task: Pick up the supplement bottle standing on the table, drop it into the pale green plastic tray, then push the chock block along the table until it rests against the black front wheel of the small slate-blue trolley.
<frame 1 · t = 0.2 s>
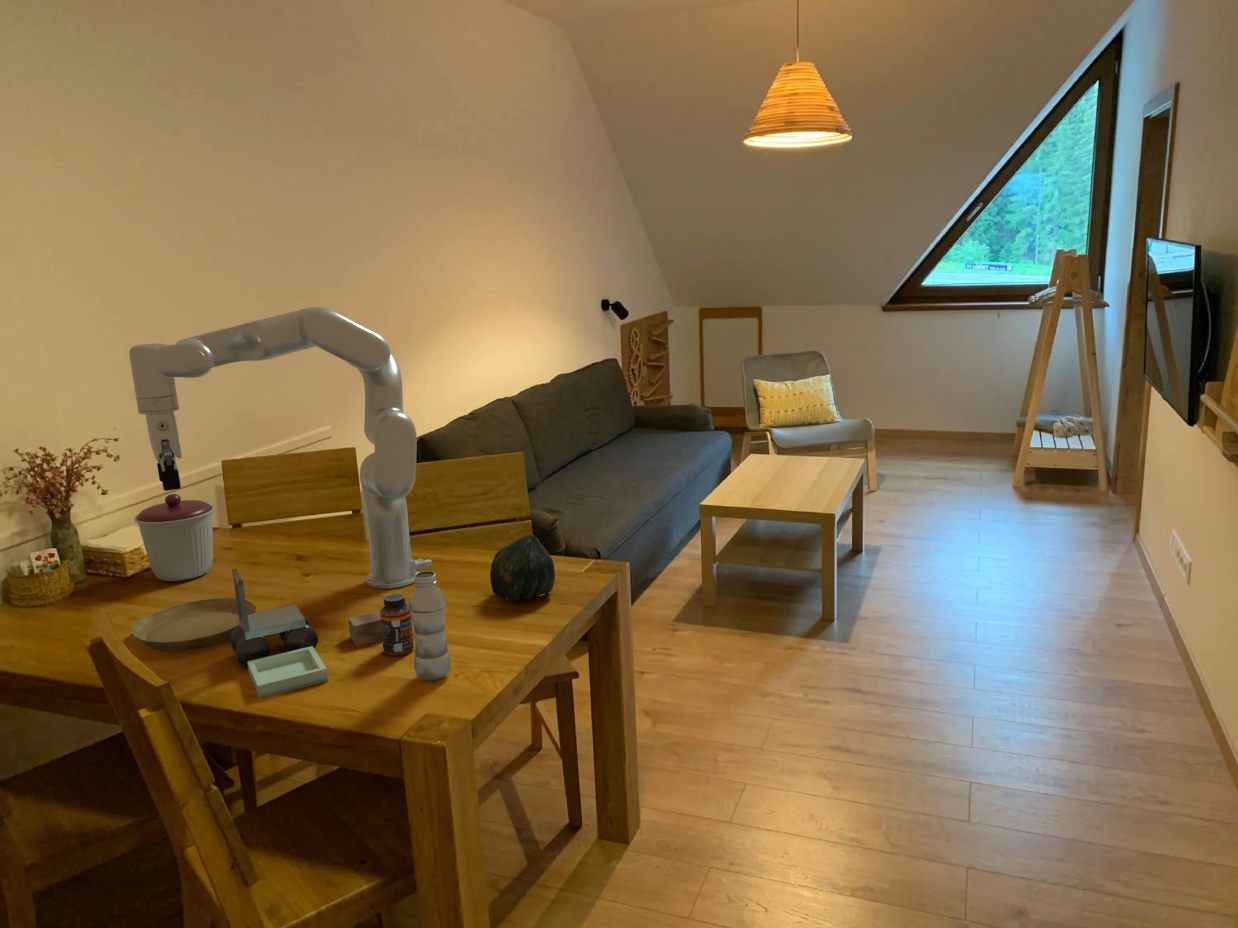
hand: (170, 484, 189), 31 cm above the table, tool pointing down, fingers open, 9 cm apart
chock: (370, 638, 184), on the table
tray: (287, 677, 168), on the table
trolley: (275, 653, 178), on the table
plastic bottle: (433, 677, 166), on the table
canister: (184, 575, 227), on the table
plant saucer: (198, 633, 191), on the table
squash: (524, 596, 205), on the table
supplement bottle: (399, 651, 178), on the table
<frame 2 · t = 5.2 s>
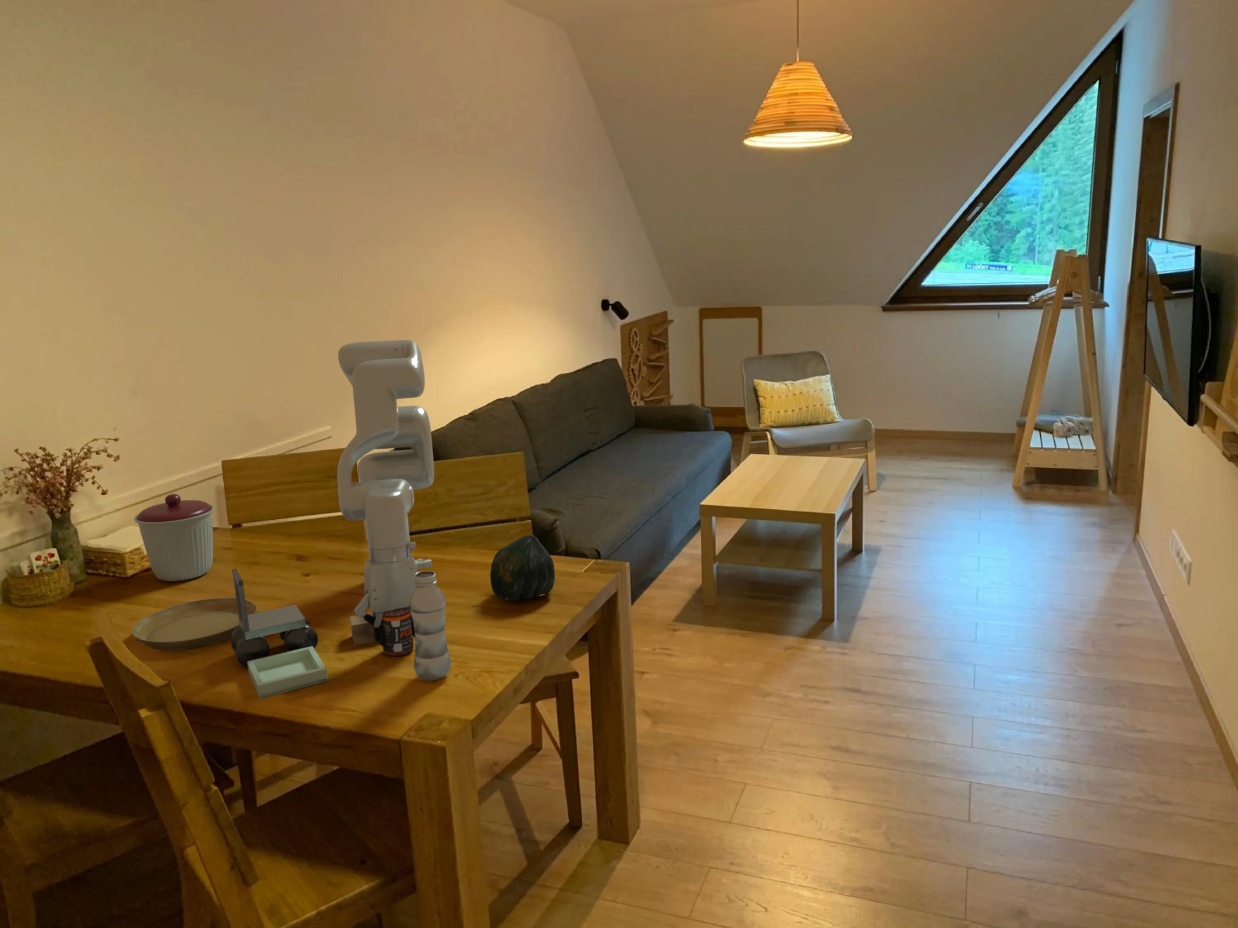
hand: (397, 638, 177), 3 cm above the table, tool pointing down, fingers closed on supplement bottle, 6 cm apart
supplement bottle: (398, 651, 177), on the table, touching gripper
everything else where it was.
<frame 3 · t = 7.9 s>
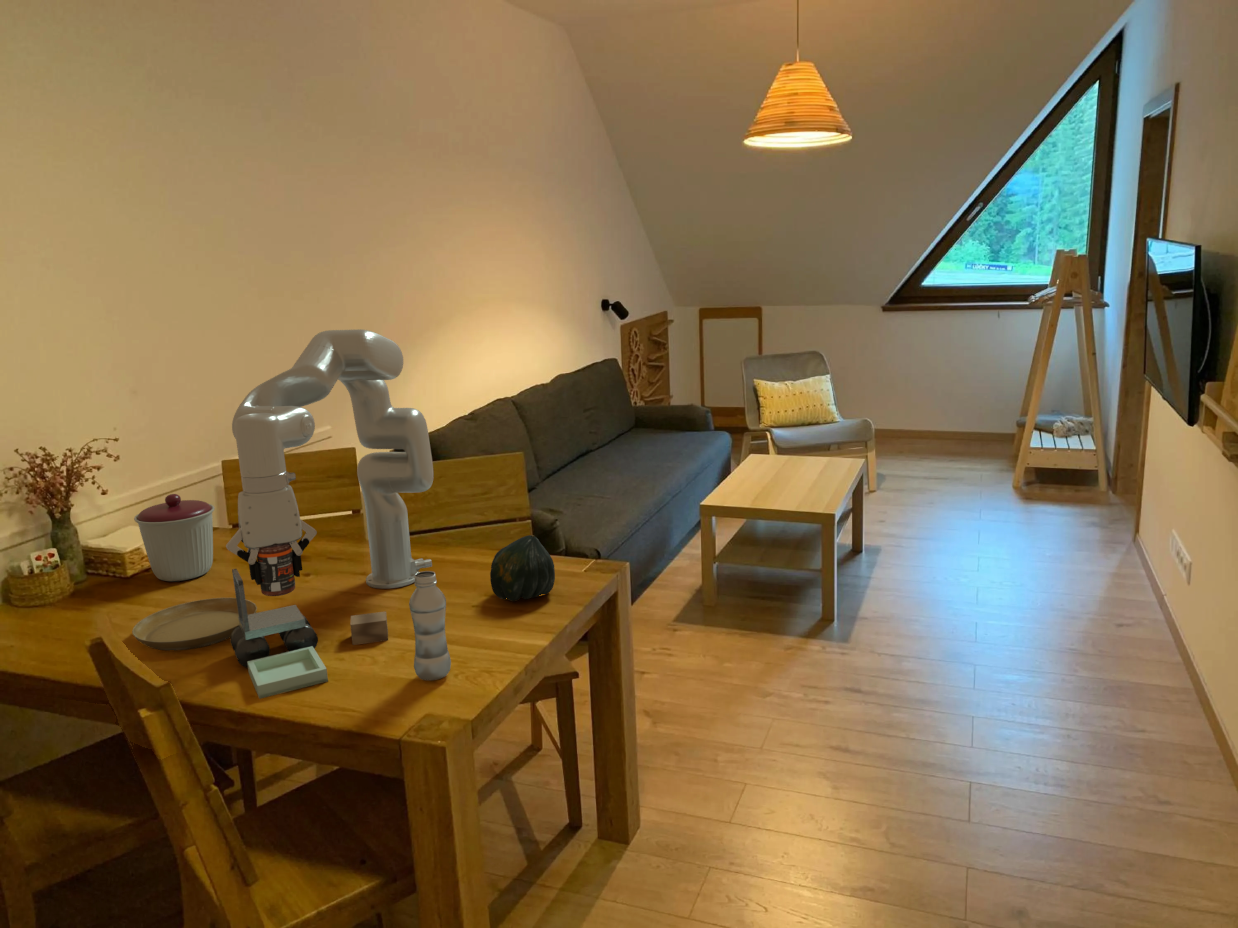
hand: (277, 577, 164), 20 cm above the table, tool pointing down, fingers closed on supplement bottle, 6 cm apart
supplement bottle: (279, 592, 164), point 17 cm above the table, touching gripper
everything else where it was.
when the fingers open (5 cm above the table, at t = 10.4 s): supplement bottle drops 2 cm, resting on tray.
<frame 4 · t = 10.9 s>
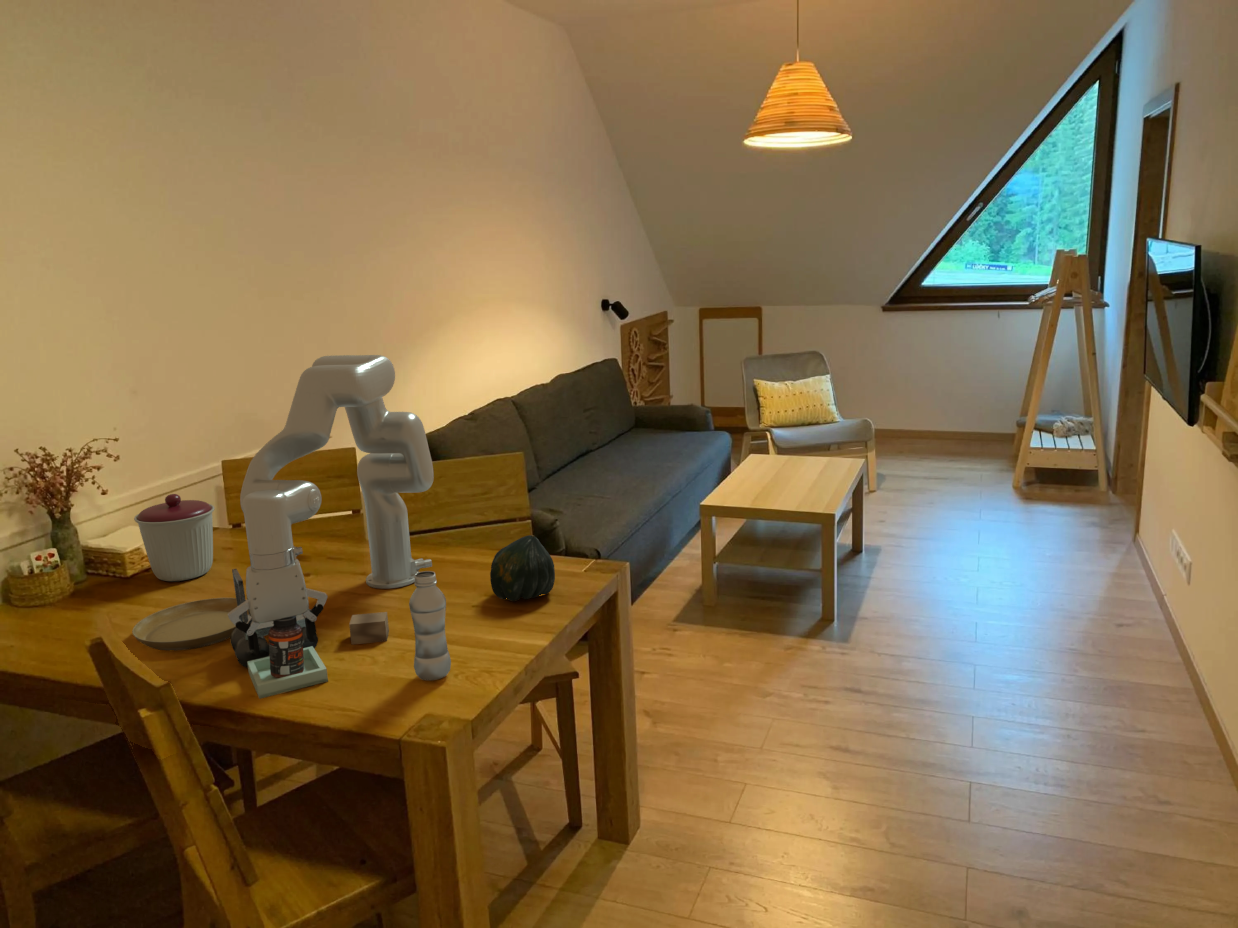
hand: (283, 645, 166), 6 cm above the table, tool pointing down, fingers open, 9 cm apart
supplement bottle: (287, 674, 168), point 1 cm above the table, touching tray
everything else where it was.
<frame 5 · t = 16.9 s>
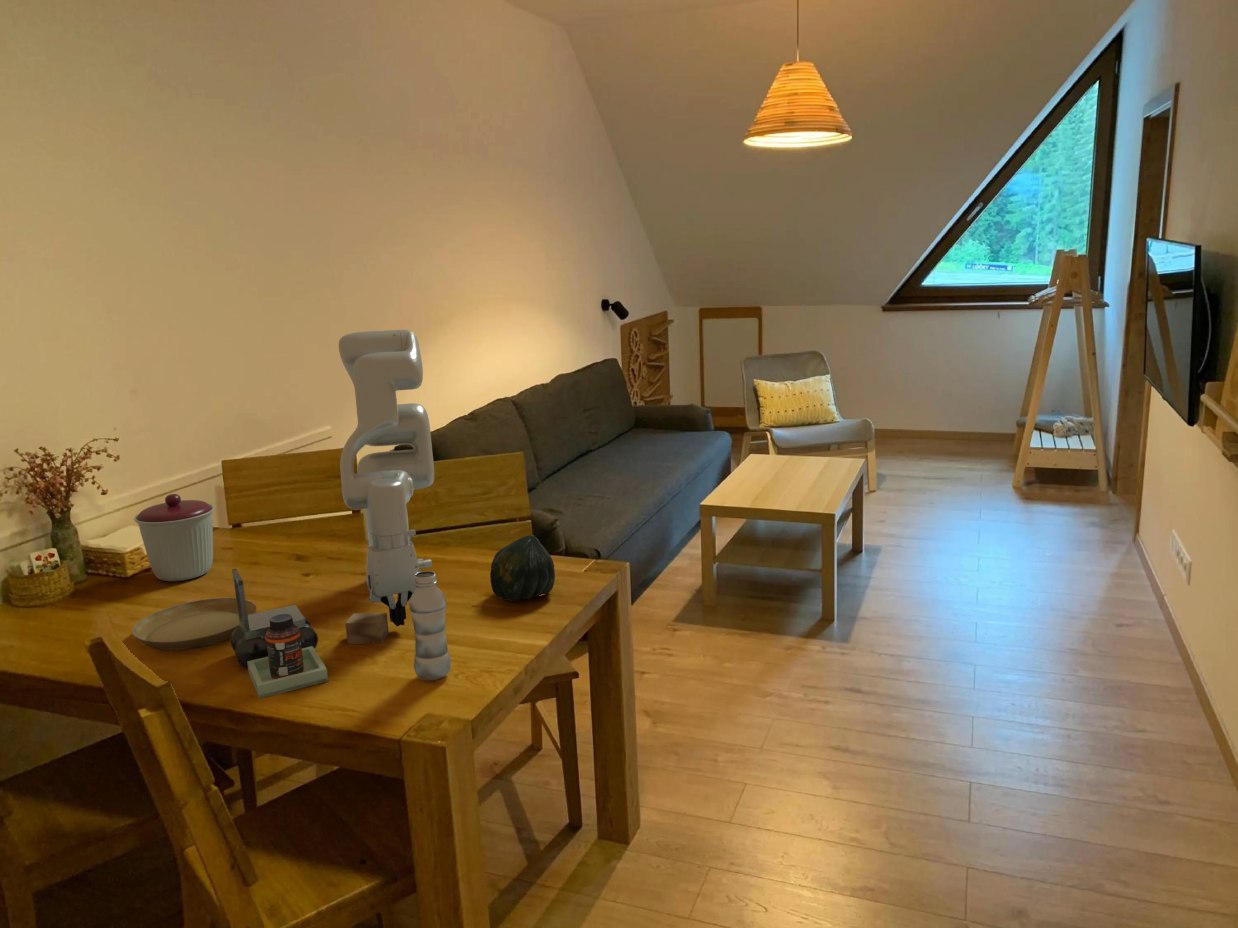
hand: (398, 623, 187), 2 cm above the table, tool pointing down, fingers closed
chock: (368, 638, 184), on the table, touching gripper
everything else where it was.
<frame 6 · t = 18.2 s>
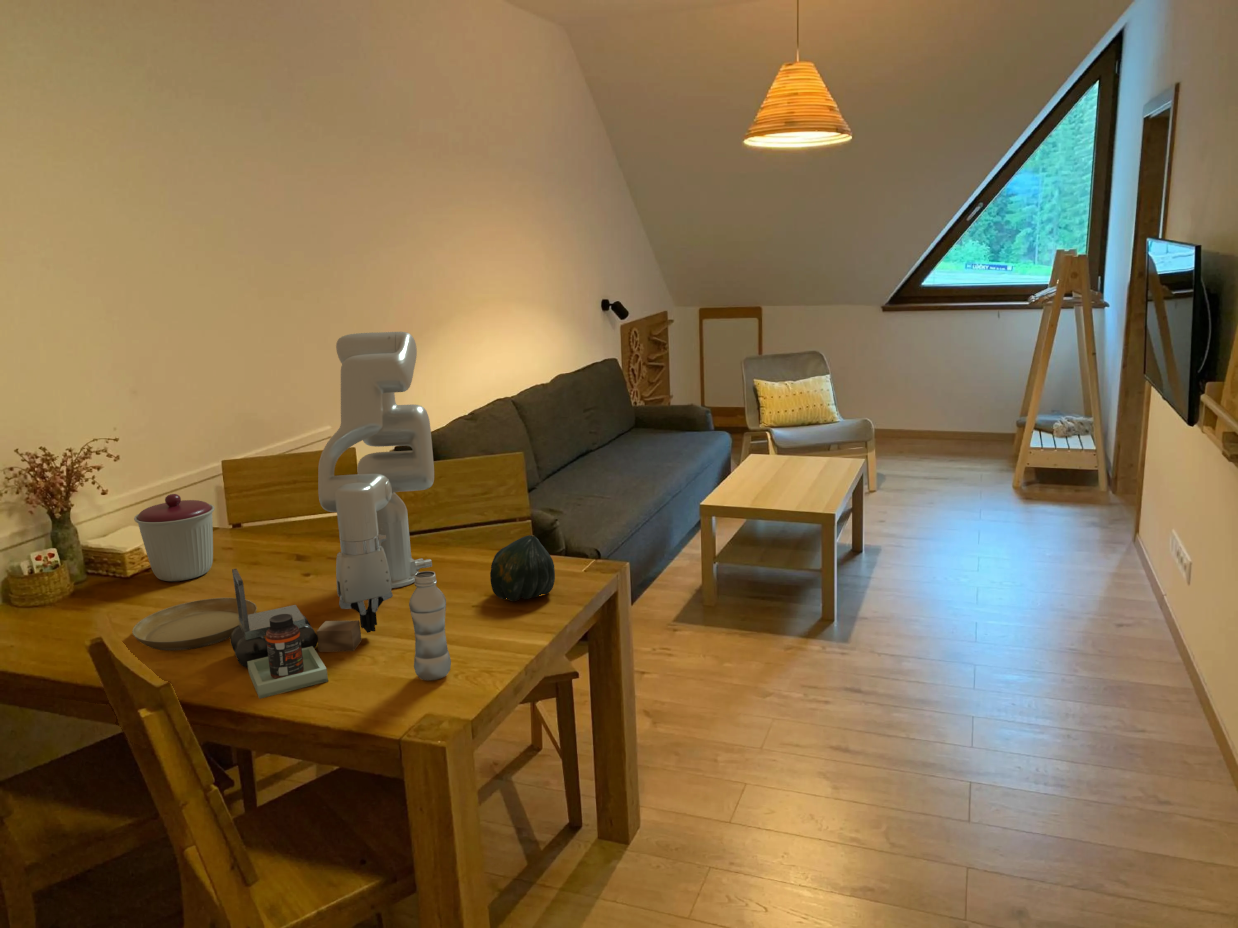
hand: (369, 629, 184), 2 cm above the table, tool pointing down, fingers closed
chock: (340, 646, 181), on the table, touching gripper, trolley
everything else where it was.
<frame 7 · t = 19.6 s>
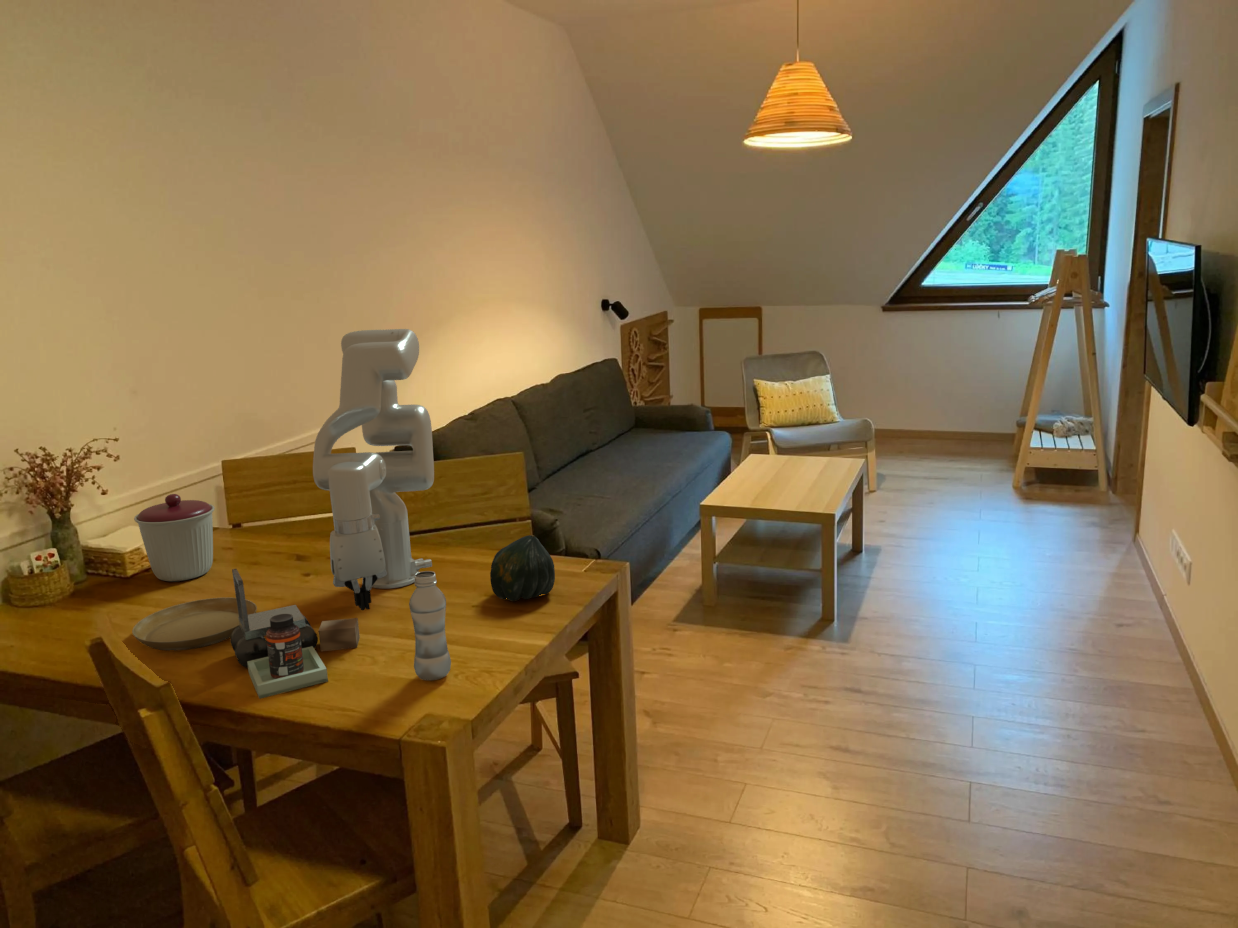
hand: (363, 607, 185), 6 cm above the table, tool pointing down, fingers closed
chock: (340, 644, 182), on the table
everything else where it was.
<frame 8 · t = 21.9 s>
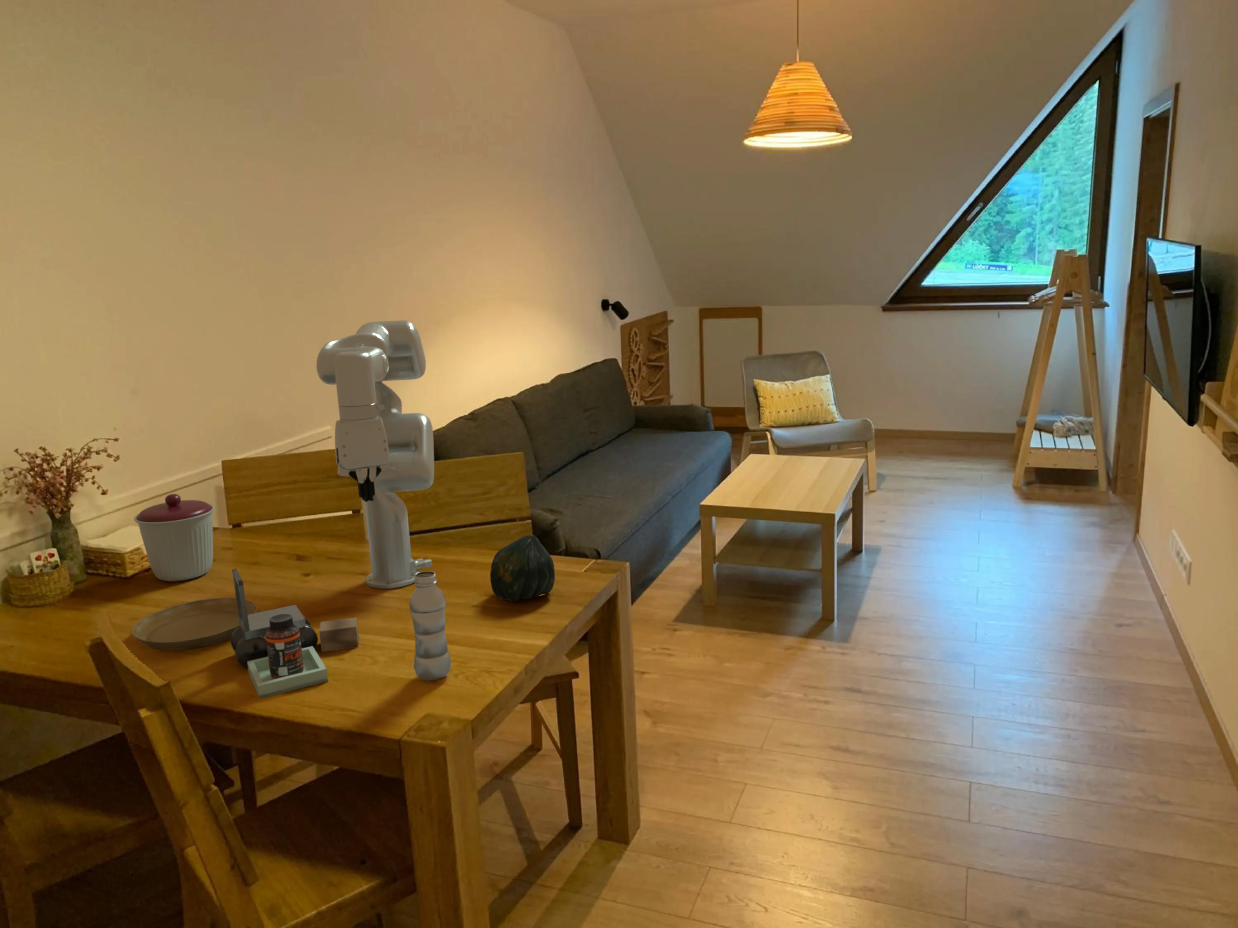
hand: (367, 499, 186), 27 cm above the table, tool pointing down, fingers closed
nothing on the table moved.
at the end: supplement bottle inside the target area on the tray (0.1 cm from its centre), point 0.4 cm above the tray's base; chock 0.7 cm from the target spot on the table beside the trolley, on the table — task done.
